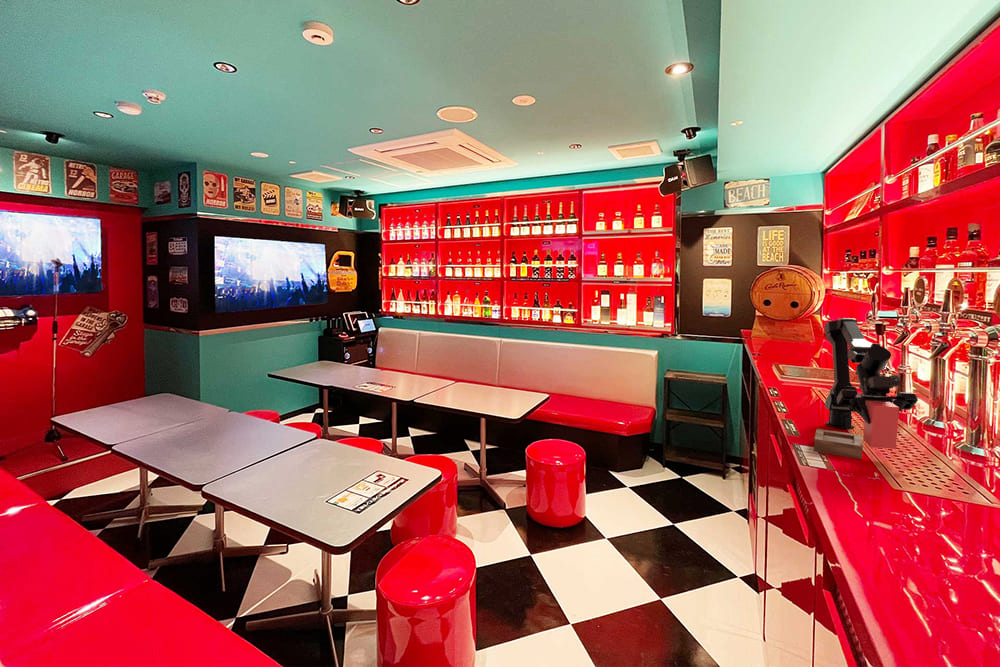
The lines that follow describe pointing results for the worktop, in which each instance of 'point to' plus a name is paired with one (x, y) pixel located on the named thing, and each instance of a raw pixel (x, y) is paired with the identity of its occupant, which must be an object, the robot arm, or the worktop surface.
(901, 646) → the worktop surface
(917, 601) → the worktop surface
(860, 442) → the walnut base
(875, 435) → the red brick
